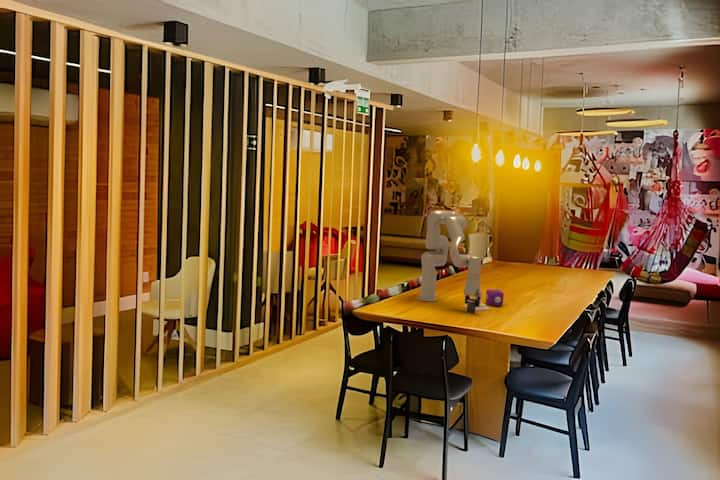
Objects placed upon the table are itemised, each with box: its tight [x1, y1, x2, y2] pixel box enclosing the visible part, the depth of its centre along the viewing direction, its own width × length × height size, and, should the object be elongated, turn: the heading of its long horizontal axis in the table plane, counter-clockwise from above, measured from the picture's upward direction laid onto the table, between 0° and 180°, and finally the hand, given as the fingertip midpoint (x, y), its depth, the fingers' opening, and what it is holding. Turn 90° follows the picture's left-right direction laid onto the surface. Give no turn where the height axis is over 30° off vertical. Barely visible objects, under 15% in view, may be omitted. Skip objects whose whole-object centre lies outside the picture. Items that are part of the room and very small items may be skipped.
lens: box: [466, 297, 476, 314], centre depth 377 cm, size 5×5×8 cm
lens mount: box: [463, 302, 492, 312], centre depth 390 cm, size 12×12×3 cm
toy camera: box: [485, 288, 504, 307], centre depth 404 cm, size 11×14×10 cm
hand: (471, 305), depth 376 cm, fingers open, 9 cm apart
